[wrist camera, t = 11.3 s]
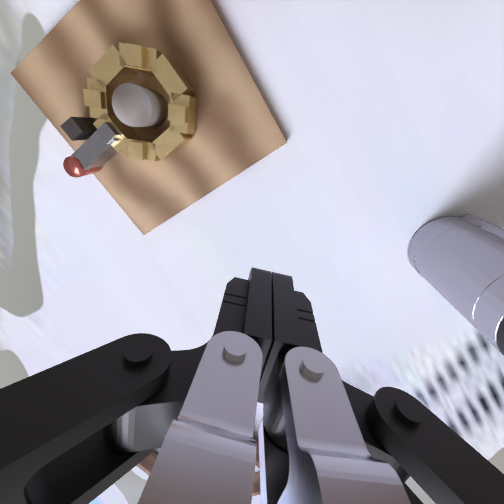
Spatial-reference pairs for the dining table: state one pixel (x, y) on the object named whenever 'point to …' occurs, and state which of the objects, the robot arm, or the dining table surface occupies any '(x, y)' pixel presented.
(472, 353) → the dining table surface
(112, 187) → the jig board
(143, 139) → the gold ring with lever
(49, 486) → the robot arm
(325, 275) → the dining table surface
